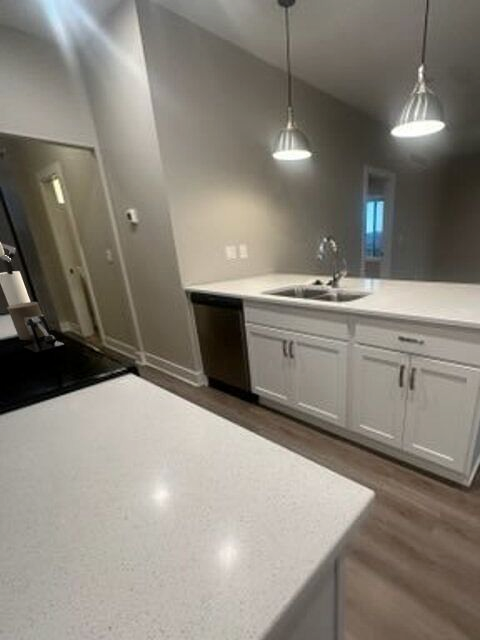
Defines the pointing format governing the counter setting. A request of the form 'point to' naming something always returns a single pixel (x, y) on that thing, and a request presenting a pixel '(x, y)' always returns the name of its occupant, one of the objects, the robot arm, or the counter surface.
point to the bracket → (37, 344)
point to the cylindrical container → (14, 288)
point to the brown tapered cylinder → (20, 313)
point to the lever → (43, 330)
